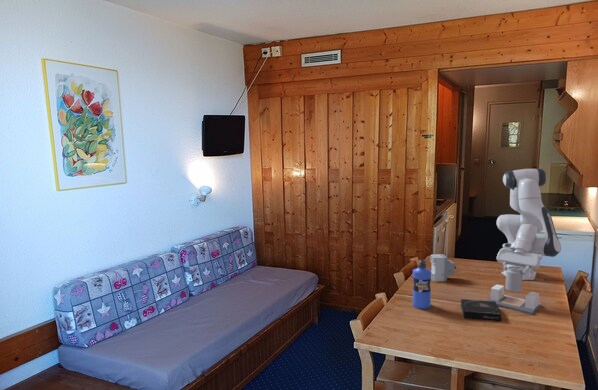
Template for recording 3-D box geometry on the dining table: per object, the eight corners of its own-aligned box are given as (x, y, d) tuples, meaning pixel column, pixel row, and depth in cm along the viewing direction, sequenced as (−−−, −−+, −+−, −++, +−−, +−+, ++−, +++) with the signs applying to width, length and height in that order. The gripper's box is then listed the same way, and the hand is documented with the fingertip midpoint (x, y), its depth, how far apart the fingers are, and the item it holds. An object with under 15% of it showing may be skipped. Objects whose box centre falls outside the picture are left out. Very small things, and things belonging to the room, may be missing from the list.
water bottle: (431, 309, 215) (432, 262, 211) (413, 308, 216) (413, 262, 213) (429, 302, 224) (430, 257, 220) (411, 302, 226) (412, 257, 222)
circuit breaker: (456, 281, 256) (457, 257, 254) (433, 281, 256) (433, 257, 254) (452, 277, 263) (453, 254, 261) (429, 277, 264) (430, 254, 262)
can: (505, 291, 215) (506, 269, 214) (505, 287, 222) (506, 265, 220) (521, 293, 212) (522, 271, 210) (521, 289, 218) (522, 267, 217)
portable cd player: (494, 308, 215) (495, 301, 215) (501, 322, 199) (501, 314, 198) (460, 305, 220) (460, 298, 219) (464, 319, 203) (464, 311, 203)
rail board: (497, 295, 231) (497, 282, 230) (541, 305, 216) (541, 292, 215) (486, 303, 221) (486, 290, 220) (531, 314, 205) (532, 300, 204)
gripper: (544, 256, 215) (537, 279, 210) (502, 249, 230) (495, 271, 224) (542, 249, 211) (534, 273, 206) (500, 243, 226) (492, 265, 221)
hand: (513, 272), depth 215 cm, fingers closed on can, 7 cm apart
